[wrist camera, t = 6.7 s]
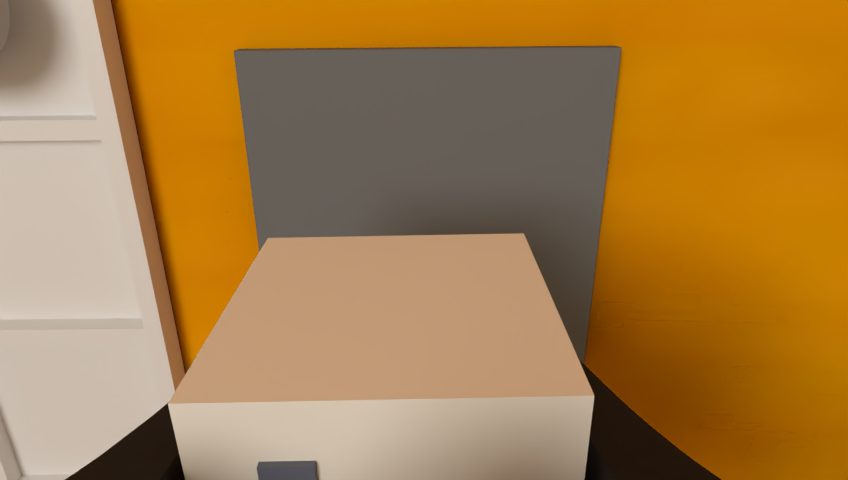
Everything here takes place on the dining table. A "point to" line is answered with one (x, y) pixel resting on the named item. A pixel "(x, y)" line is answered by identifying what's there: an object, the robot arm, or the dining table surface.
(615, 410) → the robot arm
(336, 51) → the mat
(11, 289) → the sorting tray
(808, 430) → the dining table surface
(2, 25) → the grey ball
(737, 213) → the dining table surface
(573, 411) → the letter cube
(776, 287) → the dining table surface
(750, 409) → the dining table surface
